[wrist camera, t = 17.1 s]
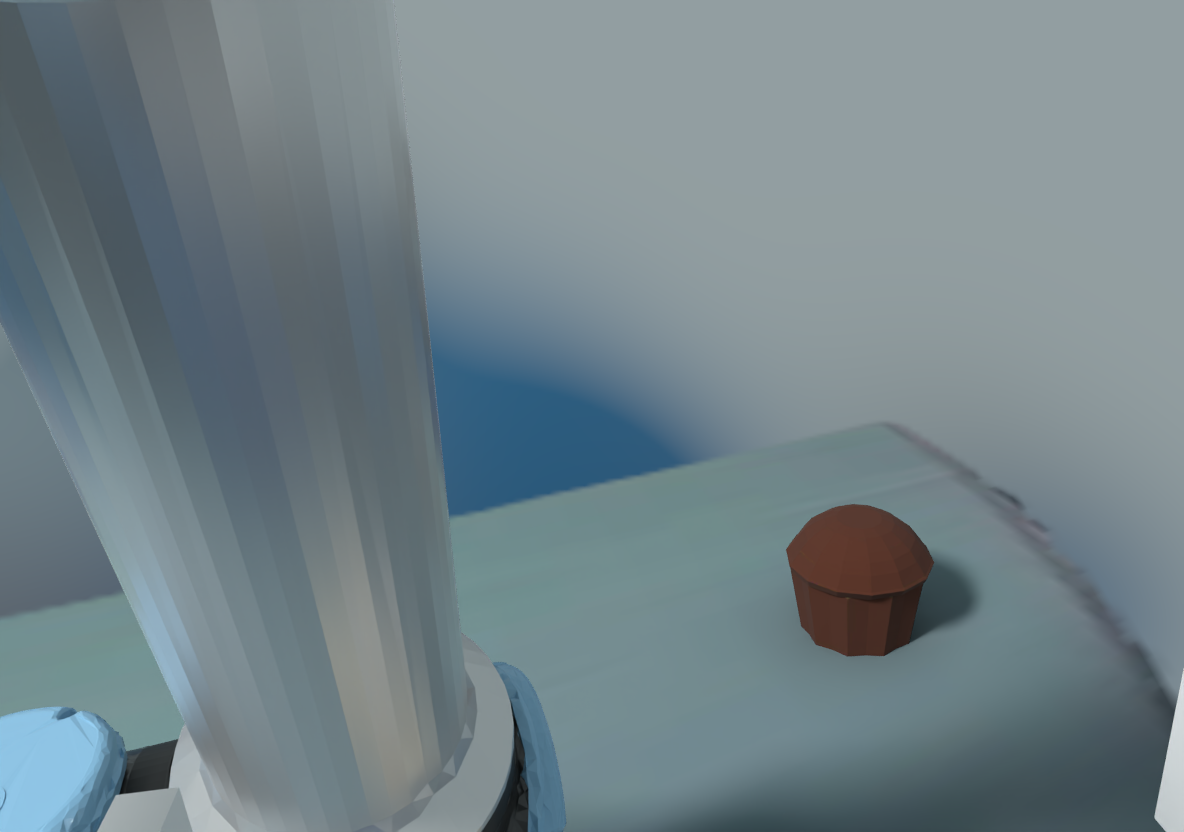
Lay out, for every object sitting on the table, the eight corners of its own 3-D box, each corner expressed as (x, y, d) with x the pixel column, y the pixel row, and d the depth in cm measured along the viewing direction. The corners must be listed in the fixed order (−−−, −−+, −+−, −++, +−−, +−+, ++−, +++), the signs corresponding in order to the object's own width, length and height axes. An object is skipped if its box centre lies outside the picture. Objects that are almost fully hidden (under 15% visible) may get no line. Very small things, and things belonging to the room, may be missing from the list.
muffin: (781, 588, 82) (780, 487, 79) (909, 586, 81) (914, 482, 78) (796, 670, 71) (795, 556, 68) (945, 669, 70) (952, 552, 67)
